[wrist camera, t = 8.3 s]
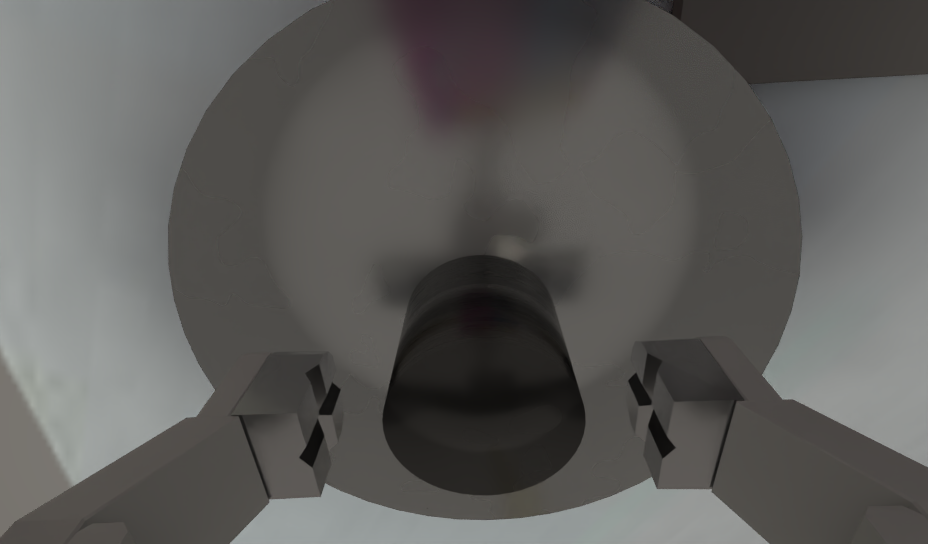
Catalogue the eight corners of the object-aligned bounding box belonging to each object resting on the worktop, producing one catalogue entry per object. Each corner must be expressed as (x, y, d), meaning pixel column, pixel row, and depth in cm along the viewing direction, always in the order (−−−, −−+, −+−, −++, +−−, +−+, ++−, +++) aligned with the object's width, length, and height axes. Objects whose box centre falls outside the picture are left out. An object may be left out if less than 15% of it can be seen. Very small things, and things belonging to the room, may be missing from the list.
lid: (87, -8, 8) (-183, -32, 5) (866, -57, 8) (1175, -123, 4) (269, 499, 14) (205, 648, 11) (715, 489, 14) (795, 641, 10)
